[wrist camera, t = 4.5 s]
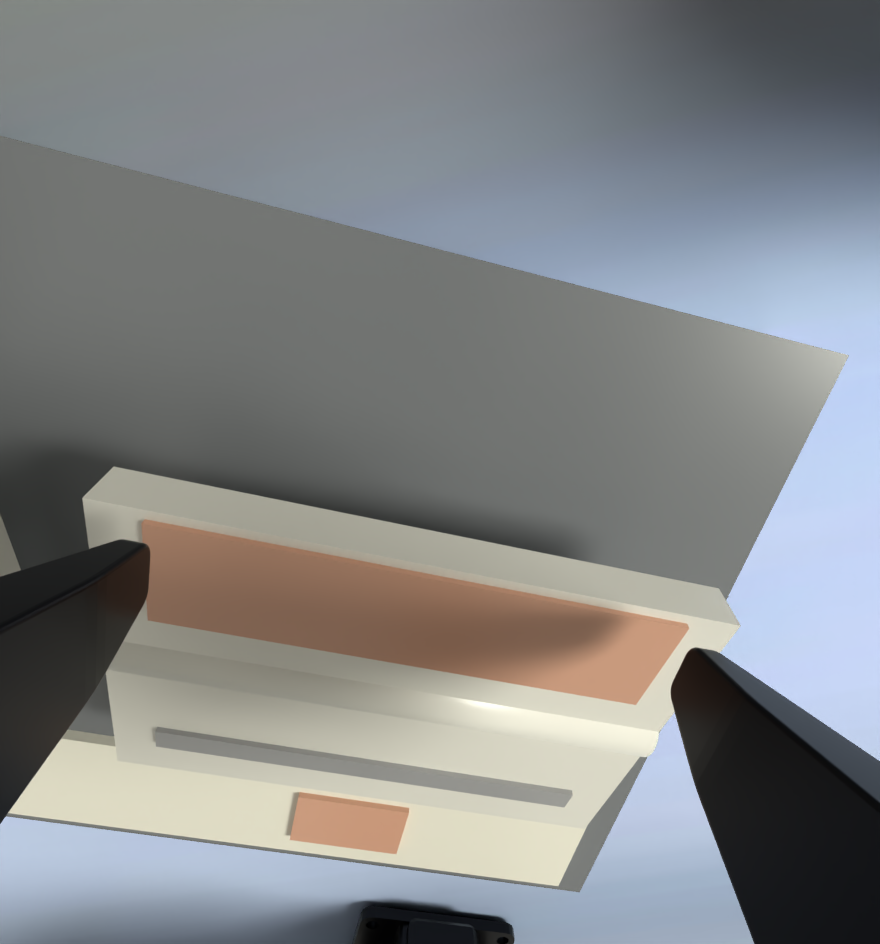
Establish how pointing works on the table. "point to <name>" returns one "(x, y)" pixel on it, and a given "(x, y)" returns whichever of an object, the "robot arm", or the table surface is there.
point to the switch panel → (361, 446)
